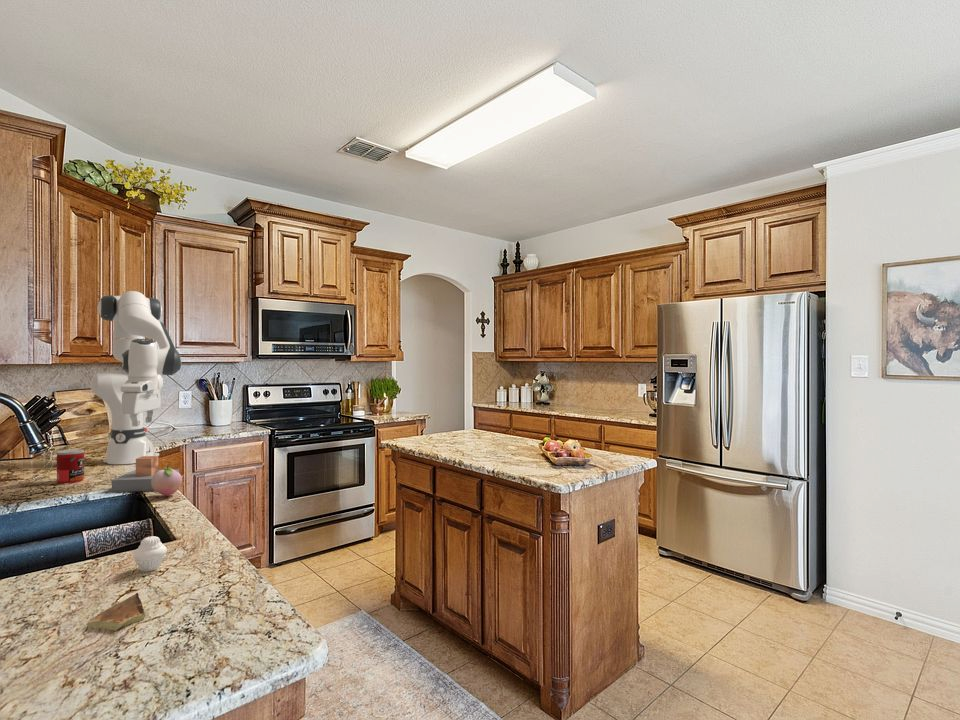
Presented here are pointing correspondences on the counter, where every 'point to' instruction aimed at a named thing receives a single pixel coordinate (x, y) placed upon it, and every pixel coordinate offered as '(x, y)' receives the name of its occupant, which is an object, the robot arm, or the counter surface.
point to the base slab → (133, 482)
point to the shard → (119, 614)
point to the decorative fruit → (166, 481)
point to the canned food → (70, 466)
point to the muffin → (150, 554)
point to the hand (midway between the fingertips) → (142, 424)
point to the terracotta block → (146, 465)
